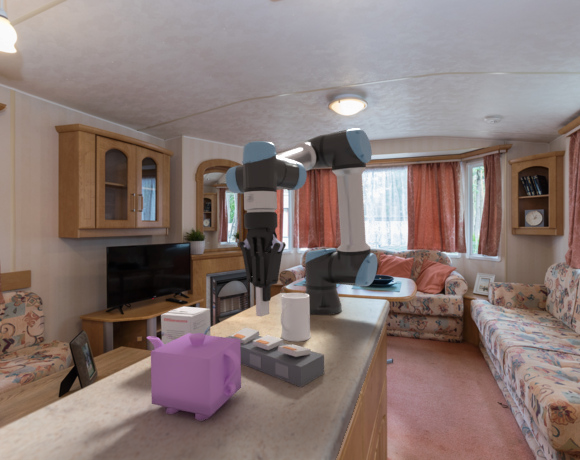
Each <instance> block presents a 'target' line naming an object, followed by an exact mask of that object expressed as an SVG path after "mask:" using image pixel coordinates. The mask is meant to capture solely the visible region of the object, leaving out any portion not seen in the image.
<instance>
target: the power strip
mask: <svg viewBox="0 0 580 460" xmlns="http://www.w3.org/2000/svg"><path fill="white" fill-rule="evenodd" d="M261 337H263V336H261V335H258V336H257V337H255V338H253V339H252V340H250V341H249V342H247V343H245V344H243V343H240V350H241V365H244V366H246V367H248V368H252V369H253V370H257V371H259V372H262V373H264V374H266V375H270V376H271V377H274V378H277V379H279V380H282V381H284V382H287V383H290V384H292V385H294V386H297V387H300V388H302V387H304V386H306V385H307V384H308V383H311V382H312V381H314V380H316V379H317V378H319V377H321V376H323V375H325V354H323V353H318V352H315V351H313V350H311V352H310V354H309V355H303V356H297V357H295V356H292V355H289V354H286V353H282V352H279V351H278V346H277V347H274V348H272V349H270V350H266V349H263V348H260V347H257V346H254V345H253V341H254V340H256V339H259V338H261ZM225 338H231V335H229V336H226V337H225ZM284 345H290V344H288V343H286V342H283V344H281V345H279V346H284Z"/></svg>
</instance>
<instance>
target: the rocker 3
mask: <svg viewBox="0 0 580 460" xmlns="http://www.w3.org/2000/svg"><path fill="white" fill-rule="evenodd" d="M278 351H279V352H282V353H286V354H289V355H292V356H295V357H297V356H303V355H309V354H310V352H311V351H312V350H311V348H307V347H304V346H300V345H296V344H293V343H292V344H289V345H284V346H278Z"/></svg>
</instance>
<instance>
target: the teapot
mask: <svg viewBox="0 0 580 460" xmlns="http://www.w3.org/2000/svg"><path fill="white" fill-rule="evenodd" d="M146 339H147V340H148V341H150V342H151V343H152V345H153V348H154V349H153V350H151V351H150V379H151V380H150V382H151V385H150V387H151V404H152V405H155V406H158V407H159V406H161V407H166V409H165V413H166V414H169V415H173V414H177V413H179V412H180V411H183V412H188V413H190V414H191V413H192V414H194V418H195V420H196V419H197V420H196V421H199V420H200V421H201V420H202V421H206V420H207V419H209V418H210V417H212V416H213V415H214V414H215V413H216V412H217V411H218V410H219V409H220V408H221V407H222V406H223V405H224V404H225V403H227V402H228V401H229V400H230V399H231V398H232V397H233V396H234V395H235V394H236V393H237V392H238V391H239V390H240V389H242V371H241V370H242V366H241V365H242V364H241V350H240V339H233V338H225V337H224V336H215V335H210V336H208V335H205V334H203V333H195V334H191V333H188V334H186V335H184V336H181V337H179V338H177V339H175V340H173V341H171V342H169V343H167V344H165V345H164V344H163V342H162V339H160V338H159V337H157V336H153V335H151V336H150V335H149V336H146ZM205 419H206V420H205Z"/></svg>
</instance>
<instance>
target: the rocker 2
mask: <svg viewBox="0 0 580 460" xmlns="http://www.w3.org/2000/svg"><path fill="white" fill-rule="evenodd" d="M283 343H284V339H283V338H280V337H276V336H273V335H269V334H267V335H265V336H262V337H261V338H259V339H256V340H254V341H253V345H254V346H257V347H260V348H263V349H266V350H270V349H272V348H274V347H277V346H279V345H281V344H283Z"/></svg>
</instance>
